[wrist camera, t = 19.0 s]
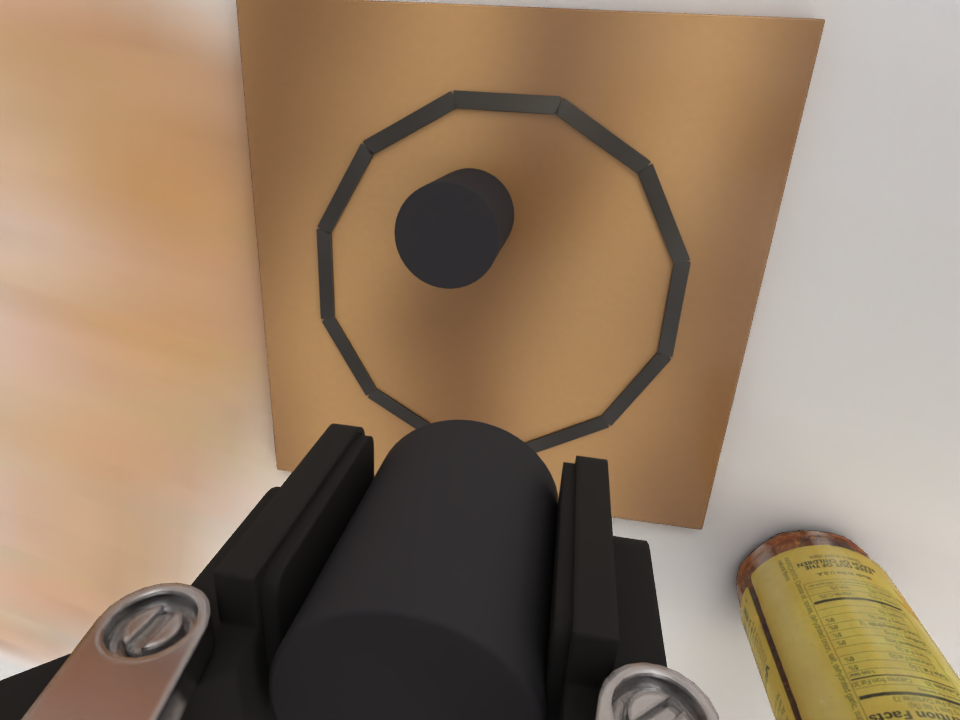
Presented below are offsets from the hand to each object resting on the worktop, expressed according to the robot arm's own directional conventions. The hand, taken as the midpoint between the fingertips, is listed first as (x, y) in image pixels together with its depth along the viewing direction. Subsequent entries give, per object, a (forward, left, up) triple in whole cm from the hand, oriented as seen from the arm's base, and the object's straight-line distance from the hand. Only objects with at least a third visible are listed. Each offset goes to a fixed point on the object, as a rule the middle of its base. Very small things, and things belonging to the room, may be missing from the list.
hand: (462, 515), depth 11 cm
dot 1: (0, 0, 0) cm, 0 cm away
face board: (+1, 0, -15) cm, 15 cm away
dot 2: (+3, -3, -15) cm, 15 cm away
